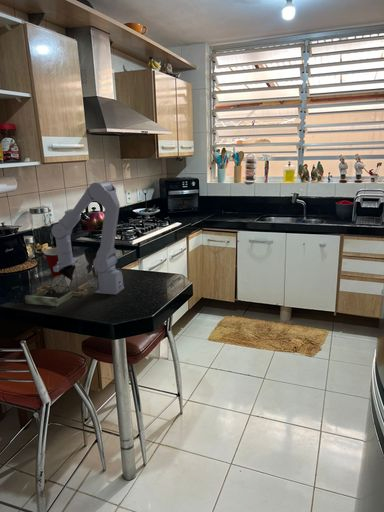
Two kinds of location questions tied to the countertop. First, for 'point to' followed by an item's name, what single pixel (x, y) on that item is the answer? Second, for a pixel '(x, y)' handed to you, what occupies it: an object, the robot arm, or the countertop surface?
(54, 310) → the countertop surface
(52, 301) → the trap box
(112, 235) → the robot arm
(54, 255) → the plastic cup
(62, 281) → the game die
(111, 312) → the countertop surface
